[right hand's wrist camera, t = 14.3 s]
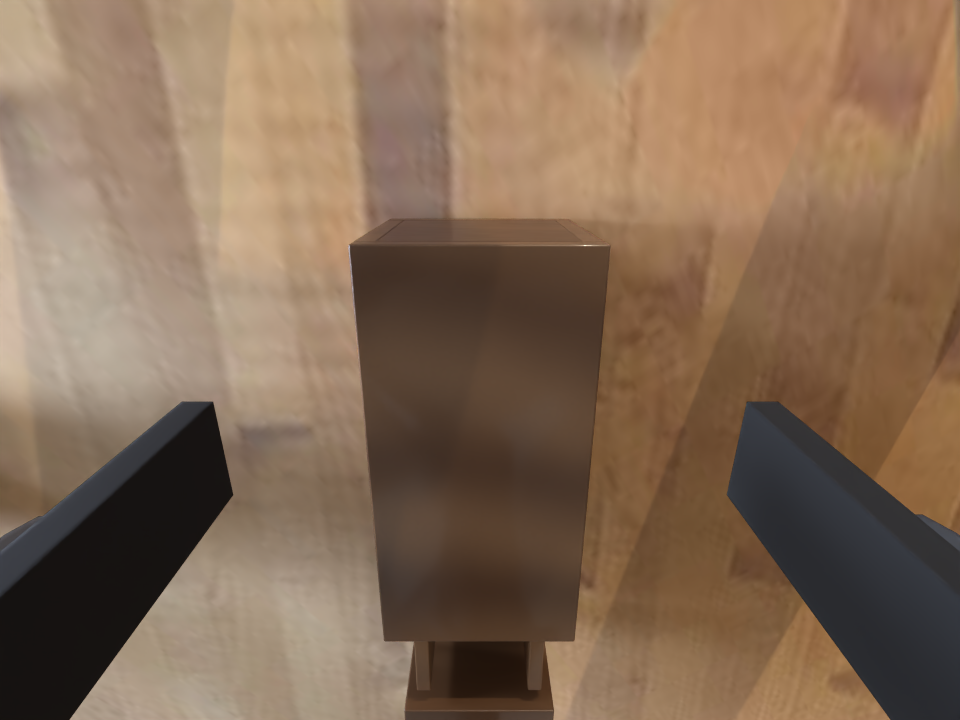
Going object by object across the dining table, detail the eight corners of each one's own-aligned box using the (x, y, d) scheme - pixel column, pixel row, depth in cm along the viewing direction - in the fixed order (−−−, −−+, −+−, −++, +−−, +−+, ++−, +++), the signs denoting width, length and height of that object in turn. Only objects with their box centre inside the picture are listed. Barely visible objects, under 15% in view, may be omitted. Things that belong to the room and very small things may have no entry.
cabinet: (550, 521, 36) (574, 642, 27) (408, 521, 36) (383, 641, 27) (569, 218, 29) (611, 244, 20) (389, 218, 29) (347, 244, 19)
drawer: (535, 670, 40) (548, 785, 33) (422, 670, 40) (409, 785, 33) (552, 374, 31) (575, 440, 24) (406, 374, 31) (383, 440, 24)
